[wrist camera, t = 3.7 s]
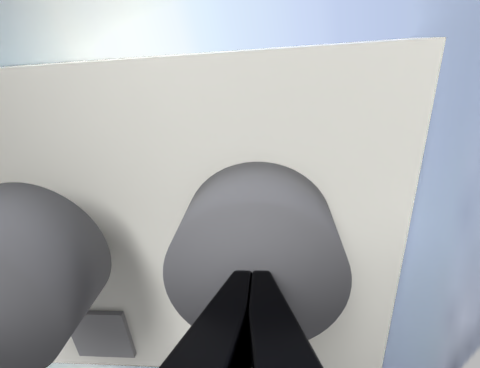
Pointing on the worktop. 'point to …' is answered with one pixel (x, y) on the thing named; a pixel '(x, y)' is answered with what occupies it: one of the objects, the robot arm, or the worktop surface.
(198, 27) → the worktop surface
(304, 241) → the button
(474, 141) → the worktop surface
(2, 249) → the button middle
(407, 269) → the worktop surface
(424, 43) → the button board
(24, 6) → the worktop surface
